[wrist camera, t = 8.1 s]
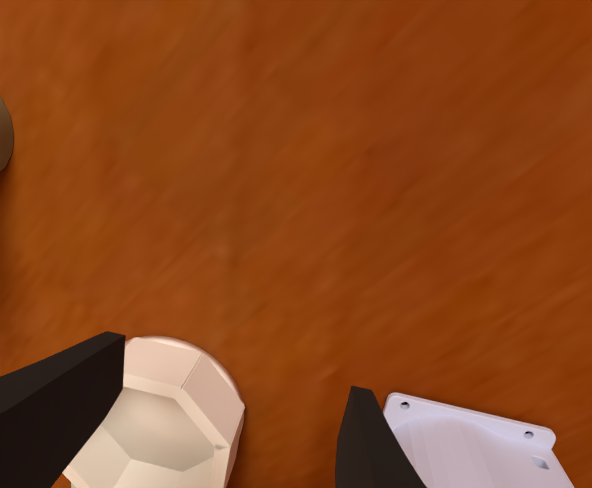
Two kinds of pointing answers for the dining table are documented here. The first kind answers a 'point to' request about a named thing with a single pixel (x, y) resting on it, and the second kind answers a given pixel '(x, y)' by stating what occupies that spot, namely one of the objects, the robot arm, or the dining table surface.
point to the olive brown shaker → (5, 135)
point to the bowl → (165, 422)
